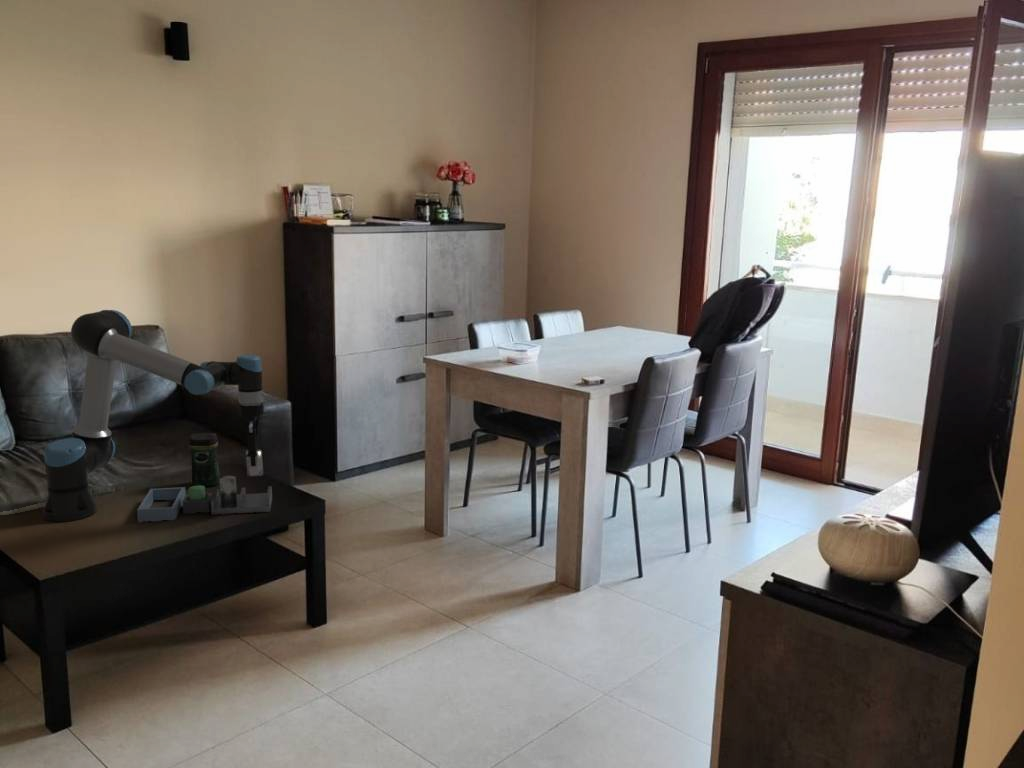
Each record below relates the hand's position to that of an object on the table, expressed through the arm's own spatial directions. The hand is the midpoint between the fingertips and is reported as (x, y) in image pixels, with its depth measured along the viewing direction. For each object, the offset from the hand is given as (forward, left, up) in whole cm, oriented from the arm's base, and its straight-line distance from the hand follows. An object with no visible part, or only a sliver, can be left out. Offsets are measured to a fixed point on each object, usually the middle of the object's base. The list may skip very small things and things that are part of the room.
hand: (254, 472), depth 289 cm
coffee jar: (-19, +28, -12) cm, 36 cm away
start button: (-18, 0, -10) cm, 21 cm away
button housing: (-18, 0, -11) cm, 22 cm away
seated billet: (-9, 0, -9) cm, 13 cm away
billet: (0, 0, -1) cm, 1 cm away
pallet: (-4, 0, -11) cm, 12 cm away
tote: (-29, +1, -11) cm, 31 cm away
